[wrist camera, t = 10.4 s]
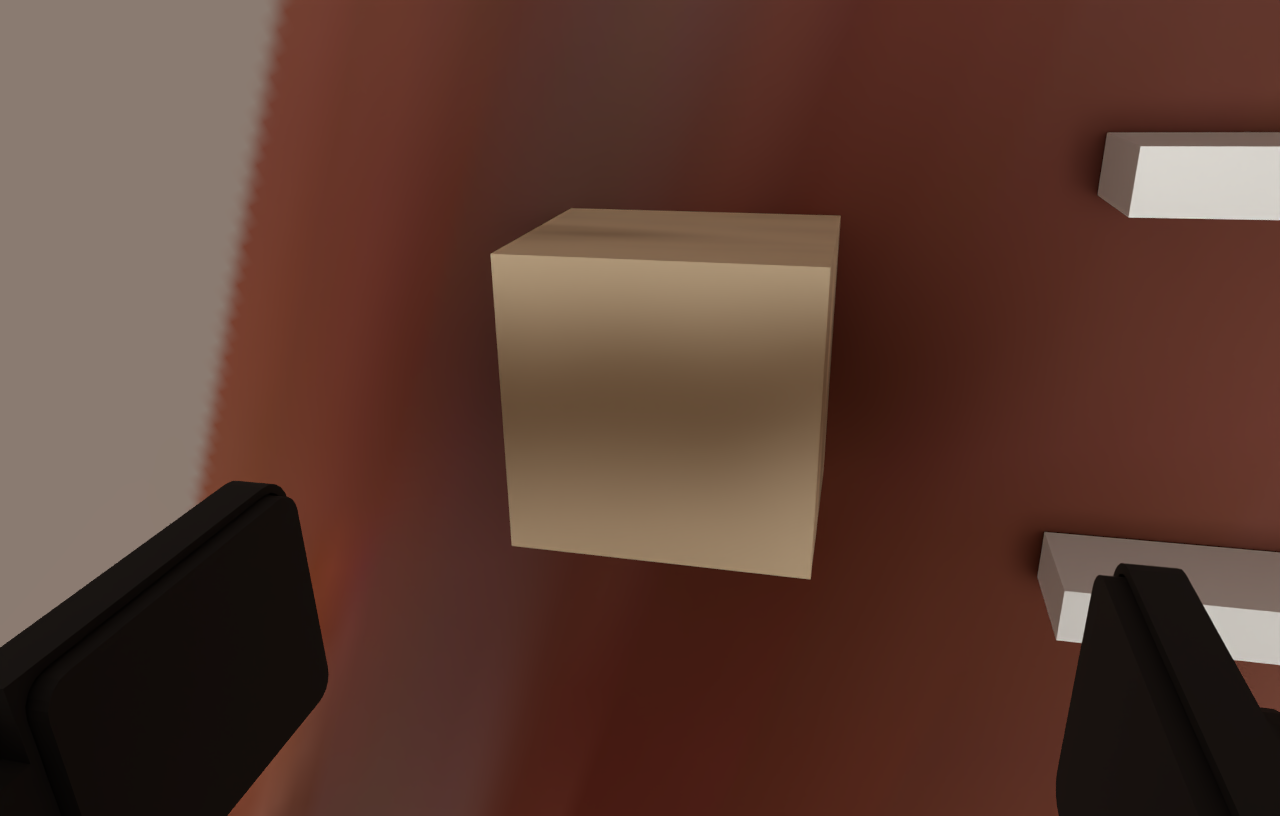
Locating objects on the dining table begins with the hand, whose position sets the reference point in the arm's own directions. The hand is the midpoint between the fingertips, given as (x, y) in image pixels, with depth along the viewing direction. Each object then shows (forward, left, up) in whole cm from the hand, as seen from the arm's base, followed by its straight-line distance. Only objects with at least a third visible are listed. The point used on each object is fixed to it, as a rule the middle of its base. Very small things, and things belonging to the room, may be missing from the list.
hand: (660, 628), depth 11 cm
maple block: (0, +2, -12) cm, 12 cm away
